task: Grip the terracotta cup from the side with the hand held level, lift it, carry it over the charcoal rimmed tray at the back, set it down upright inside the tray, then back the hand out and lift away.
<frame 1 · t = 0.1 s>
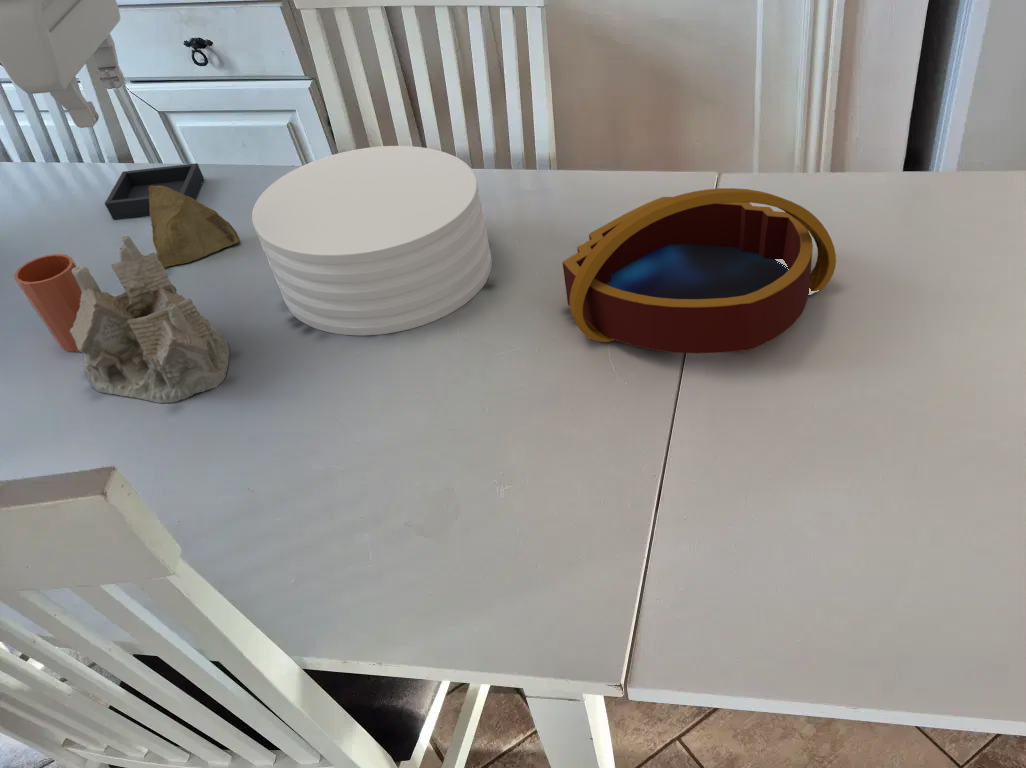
hand: (103, 104, 83), 30 cm above the table, tool pointing down, fingers open, 8 cm apart
decorative basket: (703, 307, 106), on the table
plate stack: (389, 275, 115), on the table
rock: (203, 253, 121), on the table
cup: (87, 336, 107), on the table
tray: (160, 198, 132), on the table
ceramic cottage: (160, 369, 102), on the table
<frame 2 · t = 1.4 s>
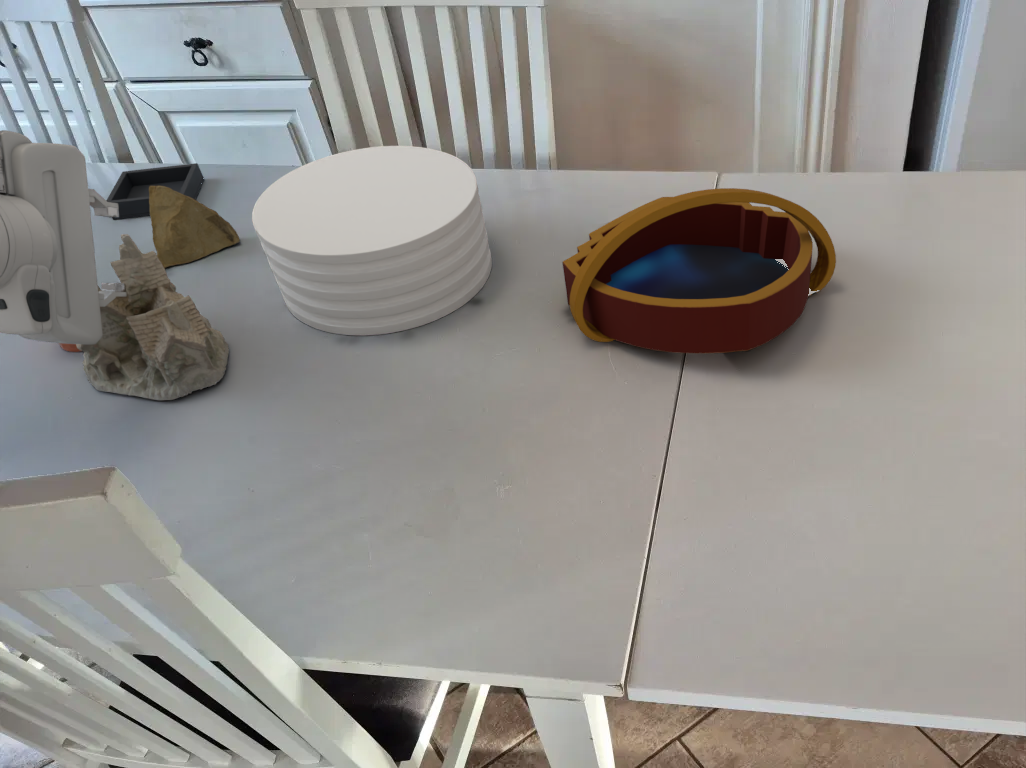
hand: (117, 250, 94), 14 cm above the table, tool tilted 55°, fingers open, 7 cm apart
ceramic cottage: (160, 368, 102), on the table, touching gripper
everything else where it was.
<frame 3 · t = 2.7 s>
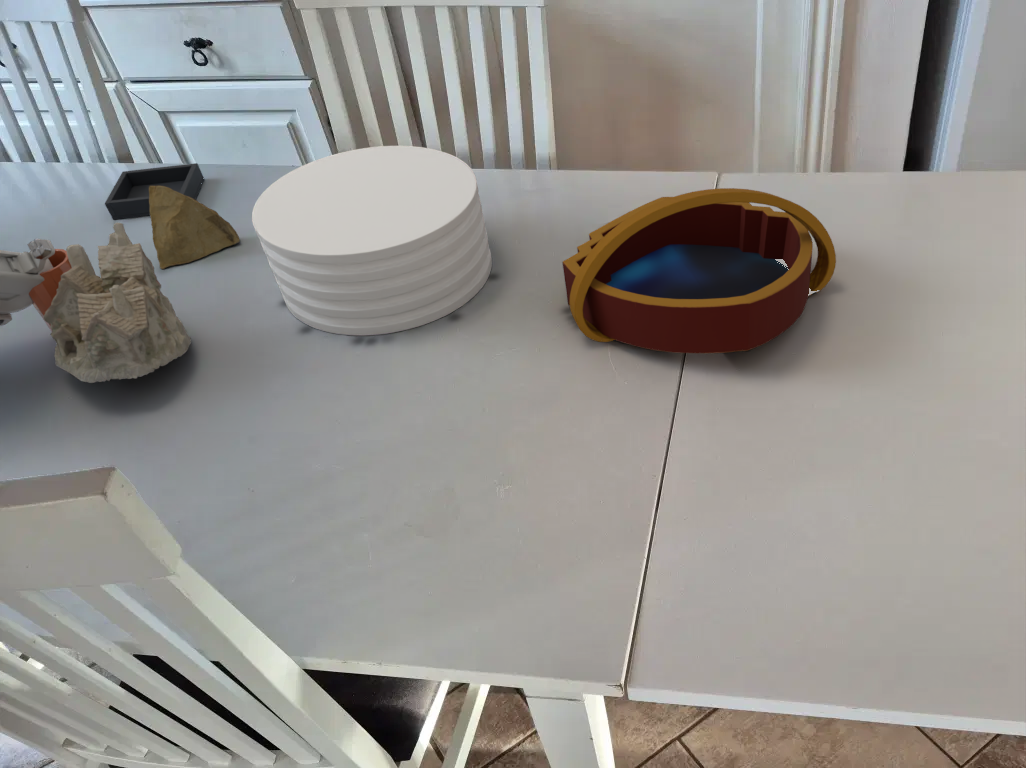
hand: (10, 239, 91), 17 cm above the table, tool pointing upward, fingers open, 8 cm apart
cup: (85, 331, 108), on the table, touching gripper
ceramic cottage: (119, 359, 100), point 2 cm above the table
everything else where it was.
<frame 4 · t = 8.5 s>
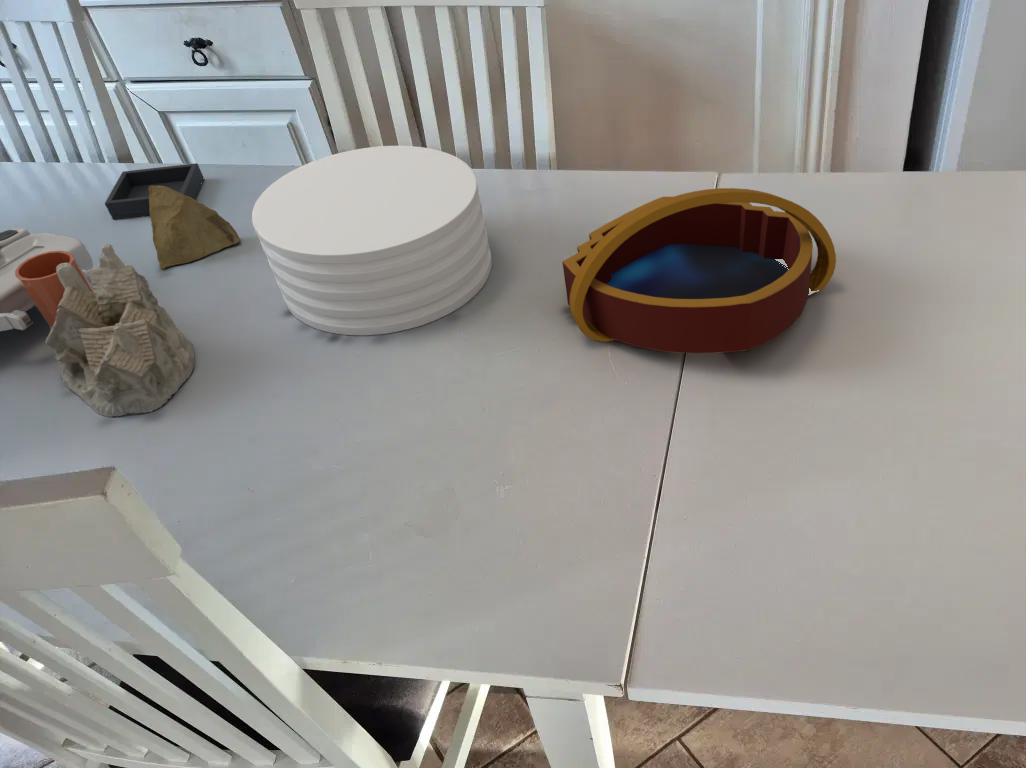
hand: (57, 299, 103), 6 cm above the table, tool horizontal, fingers open, 8 cm apart
ceramic cottage: (127, 375, 102), on the table
everything else where it was.
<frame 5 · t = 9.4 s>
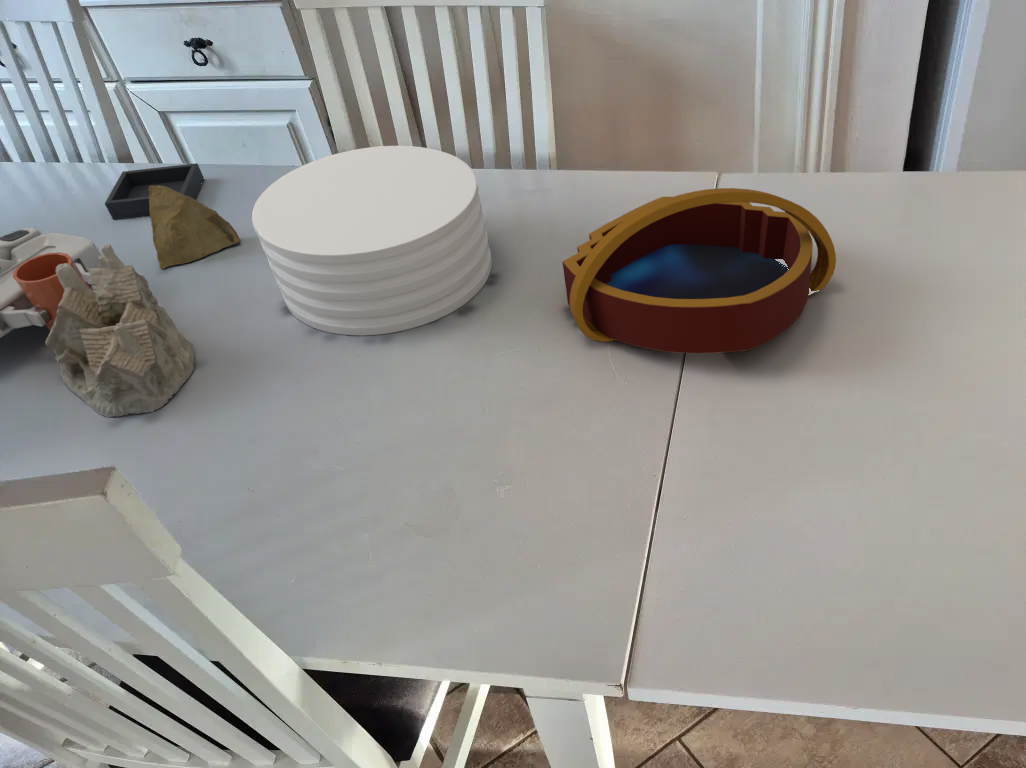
hand: (70, 299, 103), 6 cm above the table, tool horizontal, fingers closed on cup, 6 cm apart
cup: (86, 334, 107), on the table, touching ceramic cottage, gripper
ceramic cottage: (127, 376, 101), on the table, touching cup
everything else where it was.
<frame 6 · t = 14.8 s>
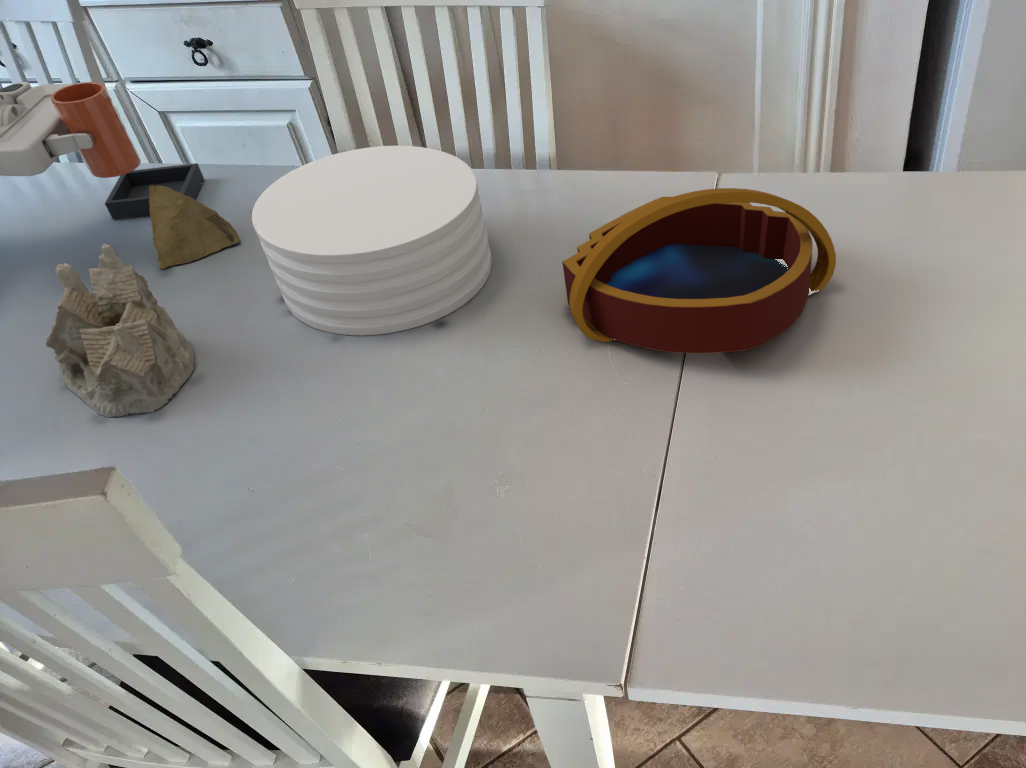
hand: (104, 125, 111), 17 cm above the table, tool horizontal, fingers closed on cup, 6 cm apart
cup: (116, 166, 115), point 12 cm above the table, touching gripper
ceramic cottage: (127, 376, 101), on the table
everything else where it was.
when the fingers open (6 cm above the table, at t = 20.4 s): cup stays where it is, resting on tray.
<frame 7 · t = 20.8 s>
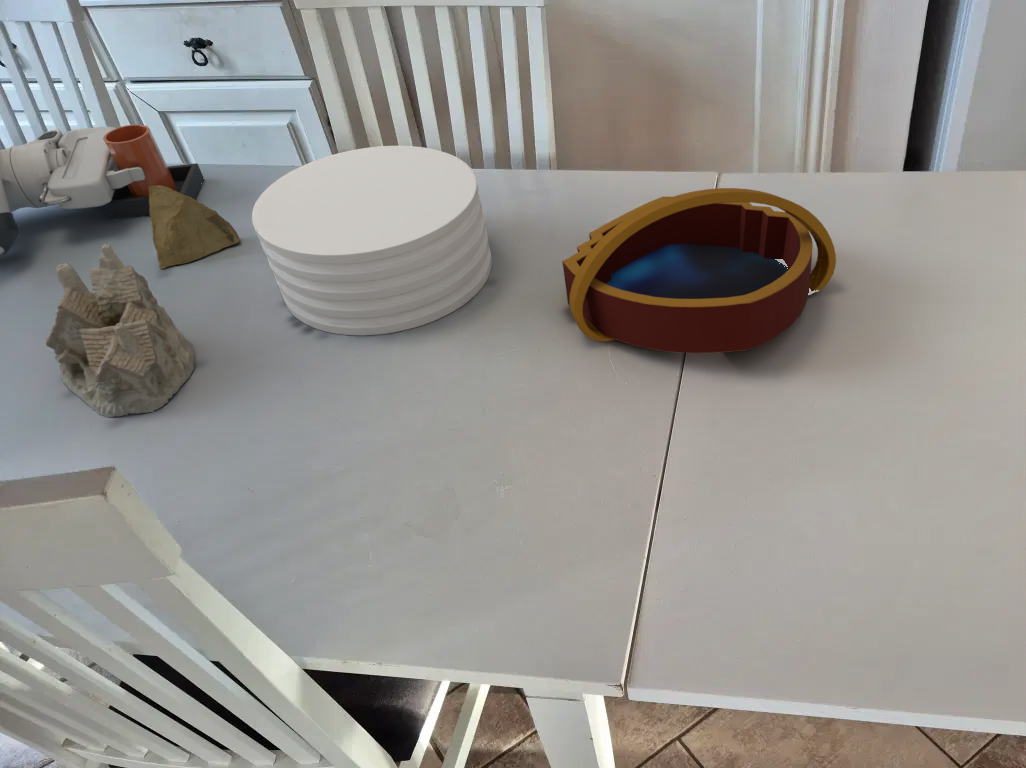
hand: (147, 158, 128), 6 cm above the table, tool horizontal, fingers open, 8 cm apart
cup: (157, 196, 132), resting on tray
everything else where it was.
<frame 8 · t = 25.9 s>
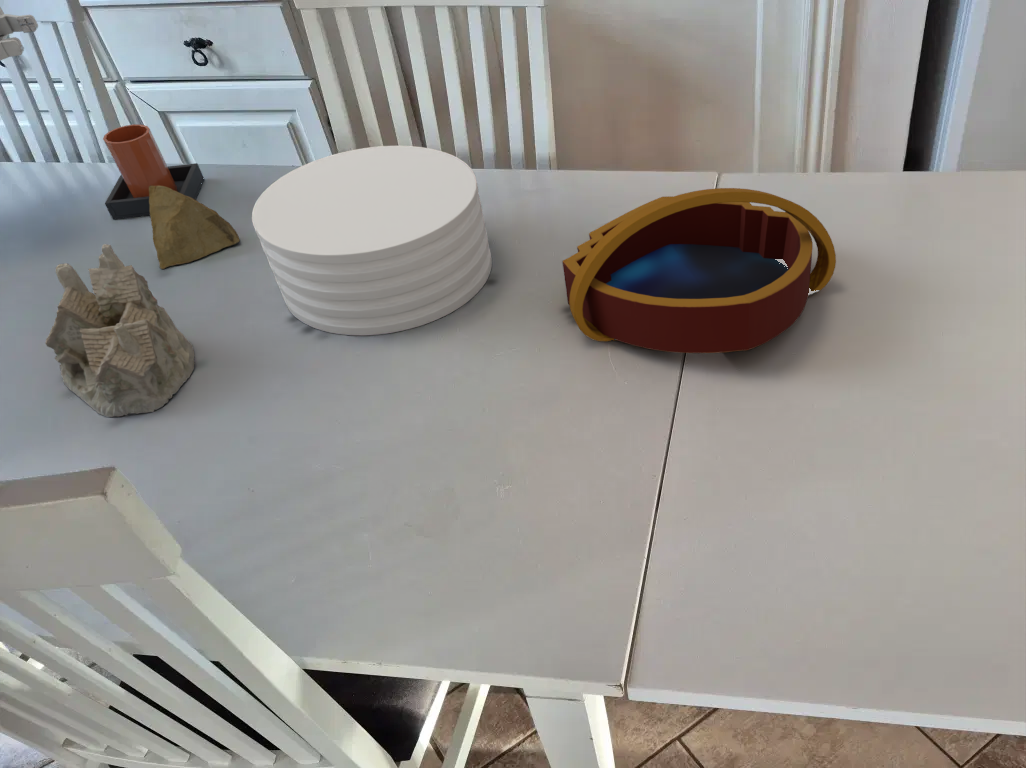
hand: (28, 33, 113), 25 cm above the table, tool horizontal, fingers open, 8 cm apart
nothing on the table moved.
at the end: cup inside the target area in the tray (0.3 cm from its centre), point 0.5 cm above the tray's base; cup tilted 0°; the gripper is holding nothing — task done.
